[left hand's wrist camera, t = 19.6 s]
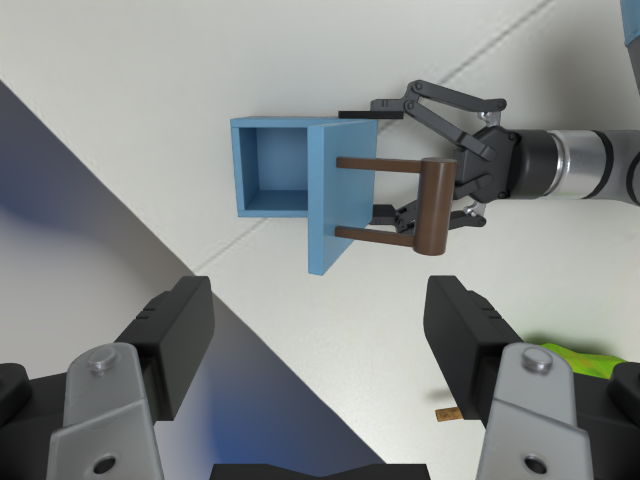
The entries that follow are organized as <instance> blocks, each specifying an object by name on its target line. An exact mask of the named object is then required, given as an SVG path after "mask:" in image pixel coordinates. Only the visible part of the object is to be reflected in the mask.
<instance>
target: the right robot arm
mask: <svg viewBox="0 0 640 480" xmlns="http://www.w3.org/2000/svg"><path fill="white" fill-rule="evenodd" d="M620 4H621V11H622V19H623V27H624V35H625V46H626V47H628V51H629V55H630V59H631V63H632V67H633V71H634V75H635V79H636V83H637V87H638V91H639V95H640V0H620ZM419 97H423V98H427V99H430V100H433V101H436V102H440V103H443V104H446V105H449V106H453V107H456V108H459V109H462V110H466V111H470V112H478V113H477V116H478V118H479V119H480V120H484V121H485V122H486V124H487V126H486V127H484V128H483V129H481V130H480V131H478V132H477V133H475V134H474V135H472V136H471V135H469V134H468V133H466V132H464V131H462V130H460V129H459V128H457V127H455V126H454V125H452V124H451V123H449V122H448V121H446V120H444V119H443V118H441V117H440V116H438V115H437V114H435V113H433V112H432V111H430V110H429V109H427V108H426V107H424V106H422V105H421V104H419V103H418V102H417V101H418V99H419ZM506 105H507V103H506V100H504V99H487V100H483V99H480V98H477V97H473V96H470V95H467V94H464V93H461V92H458V91H454V90H451V89H448V88H445V87H442V86H438V85H435V84H432V83H429V82H426V81H422V80H416V81H413V82H410V83H409V84H408V86H407V91H406V93H405V95H404V97H403V98H401V99H376V100H373V101H371V109H370V111H339V113H338V118H339V119H403V115H404V113H406V114H408V115H409V116H411V117H413V118H414V119H416V120H417V121H419V122H421V123H422V124H424V125H425V126H427V127H429V128H430V129H432V130H433V131H435V132H437V133H438V134H440V135H441V136H443V137H445V138H446V139H448V140H449V141H450V142H452V143H453V144H455V145H456V146H458V148H457V150H455V151H454V160H457V169H456V176H455V184H454V191H453V198H452V201H453V200H458V199H461V198H463V197H465V196H467V195H469V196H470V197H471V198H472V199H474V200H475V201H474V203H473V204H472V205H470V206H466V207H464V209H463V211H461V210H460V211H453V212H451V213H450V220H449V228H448V230H451V229H455V228H459V227H463V226H472V227H483V226H484V225H485V224H486V219H485V218H484V217H483V215H484V211H485V207H486V203H489V202H491V201H493V200H497V199H537V198H539V199H608V200H618V201H623V202H626V203H630V204H633V205H636V206H639V207H640V130H611V131H595V130H548V131H545V130H507V129H504V128H503V127H501V126H500V117H501V111H503V110H504V109H505V108H506ZM416 206H417V200H415V201H413V202H411V203H409V204H407V205H405V206H403V207H402V208H400V209H398V210H395V209H394V207H393V206H392V205H384V204H373V212H372V220H371V221H370V223H369V224H370V225H393V226H395V228H396V232H397V233H404V234H412V235H414V226H415V221H414V222H411V221H413V220H415V216H416ZM409 222H410V223H409Z"/></svg>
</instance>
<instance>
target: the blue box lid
mask: <svg viewBox="0 0 640 480" xmlns="http://www.w3.org/2000/svg"><path fill="white" fill-rule="evenodd" d="M377 125H378V120H360V121H350V122H340V123H330V124H320V125H310V126H308V127H307V145H308V272H309V273H310V274H316V275H321V276H322V275H324V273H325V272H326V271H327V270H328V269H329V268H330V267H331V266H332V264H333V263H334V262H335V261H336V260H337V259H338V258H339V256H340V255H341V254H342V253H343V252H344V251H345V250H346V249H347V247H348V246H349V245H350V244H351V243H352V242H353V241H354V240H363V241H370V242H377V243H385V244H392V245H399V246H407V247H412V248H413V250H414V251H415V252H417V253H419V254H423V255H428V256H438V255H442V254H444V253H445V250H446V242H447V235H448V228H449V220H450V213H451V206H452V198H453V191H454V184H455V176H456V169H457V160H454V159H449V158H423V159H422V160H421V161H417V160H398V159H380V158H376V142H377ZM375 170H376V171H392V172H407V173H420V177H419V187H418V196H417V206H416V216H415V226H414V235H412V234H404V233H396V232H388V231H380V230H372V229H364V228H365V227H366V226H367V225H368V224H369V223H370V221H371V220H372V212H373V195H374V177H375Z"/></svg>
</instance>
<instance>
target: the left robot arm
mask: <svg viewBox="0 0 640 480" xmlns="http://www.w3.org/2000/svg"><path fill="white" fill-rule="evenodd" d="M423 325H424V333H425V336H426V339H427V341H428V343H429V345H430V348H431V350H432V352H433V354H434V356H435V358H436V360H437V363H438V365H439V367H440V369H441V371H442V373H443V376H444V378H445V380H446V382H447V384H448V386H449V389H450V391H451V393H452V395H453V397H454V399H455V401H456V404H457V406H458V408H459V410H460V412H461V414H462V417H463V419H464V420H481V421H482V423H483V425H484V427H485V429H486V432H485V437H484V442H483V446H482V451H481V456H480V460H479V465H478V470H477V475H476V479H475V480H640V363H636V362H621V363H618V364H616V365H615V366H614V368H613V370H612V373H611V376H610V379H605V378H600V377H595V376H590V375H585V374H580V373H576V372H573V370H572V367H571V366H570V364H569V363H568V362H567V361H566V360H565V359H564V358H563V357H561V356H560V355H559V354H557V353H555V352H553V351H551V350H549V349H547V348H545V347H542V346H539V345H535V344H531V343H524V342H523V340H522V339H521V338H520V337H519V336H518V335H517V334H516V332H515V331H514V330H513V329H512V328H511V327H510V326H509V324H508V323H507V322H506V321H505V320H504V319H502V316H501V315H500V314H499V313H498V312H497V311H496V310H495V308H494V307H493V306H492V305H491V304H490V303H489V302H488V300H487V299H486V298H484V297H482V296H481V295H479V294H477V293H476V292H474V291H467V290H466V288H465V287H464V286H463V285H462V284H461V282H460V281H459V280H458V279H457V277H456V276H430V277H429V279H428V284H427V293H426V301H425V310H424V319H423ZM214 328H215V317H214V309H213V300H212V292H211V284H210V280H209V277H208V276H183V277H182V278H181V279H180V280H179V281H178V283H177V284H176V285H175V286H174V288H173V289H172V290H171V291H165V292H163V293H162V294H160V295H158V296H156V297H155V298H153V299H152V300H151V301H150V302H149V303H148V304H147V305H146V306H145V307H144V309H143V311H141V312H140V313H139V314H138V315H137V316H136V319H134V320H133V321H132V322H131V323H130V324H129V326H128V327H127V328H126V329H125V330H124V331H123V332H122V333H121V335H120V336H119V337H118V338H117V339H116V340H115V341H114V343H109V344H105V345H101V346H98V347H95V348H93V349H91V350H89V351H87V352H85V353H83V354H81V355H80V356H79V357H77V358H76V359H75V360H74V361H73V362H72V363H71V364H70V366H69V368H68V370H67V372H65V373H61V374H57V375H51V376H46V377H42V378H37V379H32V380H29V378H28V376H27V373H26V370H25V368H24V367H23V366H22V365H20V364H16V363H4V364H0V480H164V475H163V470H162V465H161V460H160V456H159V451H158V446H157V442H156V437H155V432H154V428H153V426H154V424H155V422H156V421H173V420H174V418H175V416H176V414H177V412H178V410H179V408H180V406H181V404H182V401H183V399H184V397H185V395H186V393H187V391H188V389H189V387H190V384H191V382H192V380H193V378H194V376H195V374H196V372H197V370H198V367H199V365H200V363H201V361H202V359H203V357H204V355H205V352H206V350H207V348H208V346H209V344H210V342H211V340H212V337H213V334H214ZM209 480H431V479H430V476H429V472H428V469H427V466H426V464H371V465H368V466H364V467H360V468H356V469H352V470H348V471H345V472H341V473H337V474H333V475H329V476H325V477H315V476H311V475H307V474H303V473H299V472H296V471H291V470H288V469H284V468H280V467H276V466H272V465H269V464H214V466H213V469H212V472H211V476H210V479H209Z"/></svg>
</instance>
